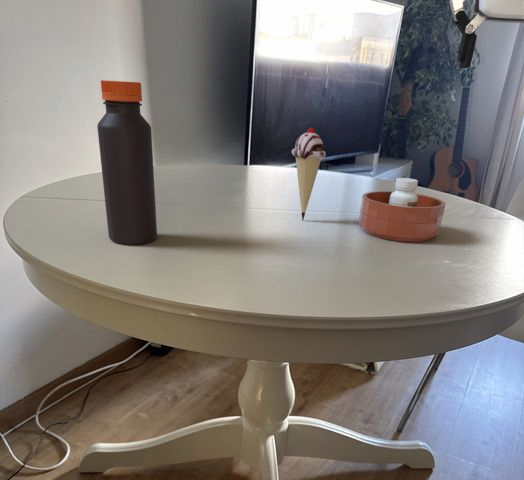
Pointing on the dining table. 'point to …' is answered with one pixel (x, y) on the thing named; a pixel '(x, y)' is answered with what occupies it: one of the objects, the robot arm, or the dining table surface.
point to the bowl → (400, 217)
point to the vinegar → (127, 165)
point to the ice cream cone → (307, 164)
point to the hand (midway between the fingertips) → (497, 69)
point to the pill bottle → (404, 192)
